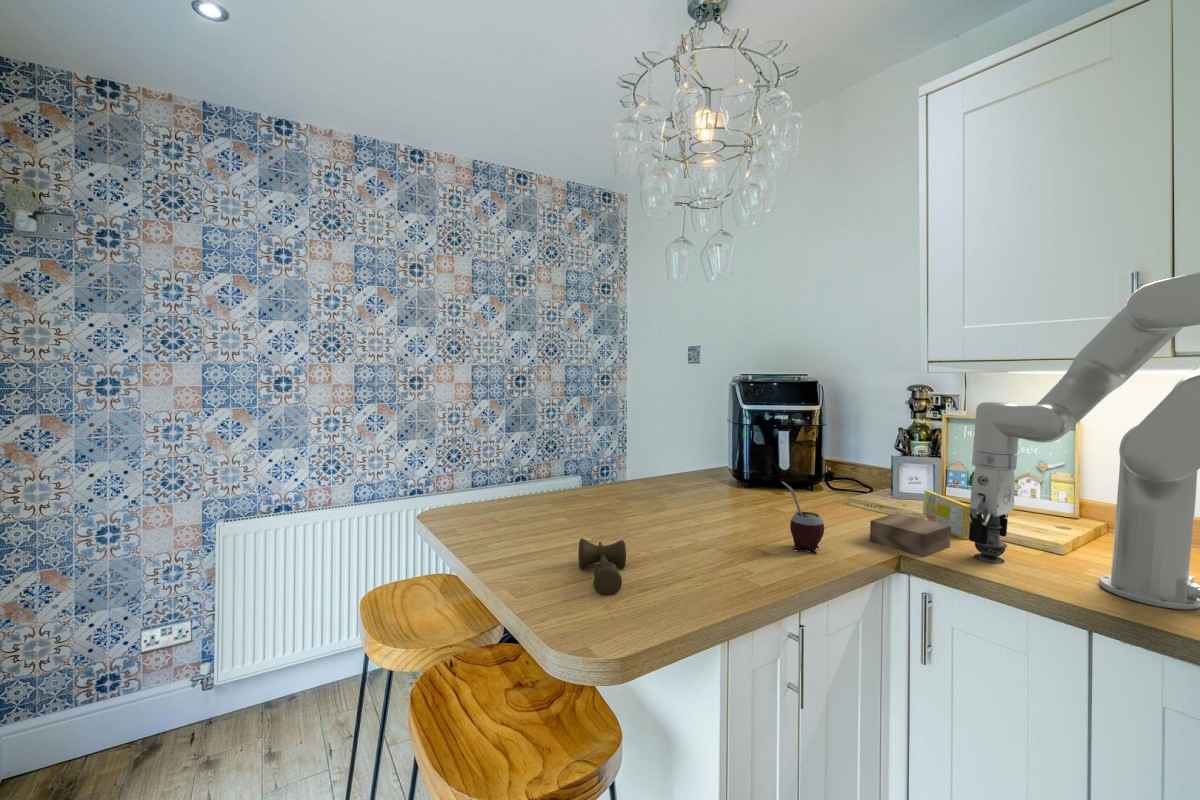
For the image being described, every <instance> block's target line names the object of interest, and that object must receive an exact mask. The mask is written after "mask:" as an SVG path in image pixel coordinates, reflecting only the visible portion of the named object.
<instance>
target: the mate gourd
mask: <svg viewBox="0 0 1200 800" xmlns="http://www.w3.org/2000/svg"><path fill="white" fill-rule="evenodd" d="M781 483H782V484H783V485H784V486H785V487H786V488H787V489H788V490H789V491H790V493H791V495H792V497H793V500H794V503H795V505H796V508H797V511H796V512H795V513H794V514H793V516H792V517H791V519H790V526H789V527H790V533H791V537H792V538H793V543H794V547H793V548H792V549H793V551H794V550H804V551H806V550H808V551H810V552H812V553H814V554H813V555H816V554H815V553H817V551H816V550H817V549H816V548H819V549H820V546H819V543H820V542H821V541H822V539H823V536H824V533H825V524H824V520H823V519H822V517H821V516H820V514H818V513H815V512H810V511H802V510H801V507H800V504H799V501H798V499H797V494H796V492H795V490H794V489H793V488H792V487H791V486H790V485H788V484H787V483H786V482H784V481H781ZM808 551H807V552H808ZM810 552H809V553H810ZM812 553H811V554H812ZM817 554H818V553H817Z"/></svg>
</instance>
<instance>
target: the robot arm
mask: <svg viewBox="0 0 1200 800" xmlns="http://www.w3.org/2000/svg"><path fill="white" fill-rule="evenodd" d="M1198 325H1200V271H1196V272H1192V273H1186V274H1183V275H1178V276H1174V277H1171V278H1170V277H1169V278H1166V279H1162V280H1158V281H1153V282H1151V283H1148V284H1145V285H1142V286H1141V287H1139V288H1138V289H1136V290H1135V291H1134V292H1133V293H1132V294H1130V296H1129V298H1128V299H1127V300H1126V303H1125V305H1124V307H1122V308H1121V309H1120V310H1119V312H1117V314H1115V315H1114V317H1112V319H1111V320H1110V321H1109V322H1108V323H1107V324H1106V325H1105V326H1104V327H1103V328H1102V329H1101V330H1100V331H1098V333H1096V335H1095V336H1094V337H1093V338H1092V339H1091V340H1090V341H1089V342H1088V343H1086V345H1085V346H1084V347H1083V348H1082V349H1080V351H1079V352H1078V353H1077V354H1076V356H1075V357H1074V359H1073V360H1072V363H1071V365H1070V366H1069V368H1068V370H1067V371H1066V372H1065V374H1064V375H1063V376H1062V377H1061V379H1060V380H1058V382H1057V383H1056V384H1055V385H1054V386H1053V387H1052V388H1051V389H1050V390H1049V391H1048V392H1047V393H1046V394H1045V395H1044V396H1043V397H1042V398H1041V399H1040V400H1039V401H1038V402H1037V403H1036V404H1035V405H1017V404H1016V403H1011V402H1010V403H1009V402H1002V401H1001V402H1000V401H998V402H996V401H985V402H980V403H979V404H977V406H976V408H975V410H976V411H975V421H974V422H975V423H974V433H973V444H972V457H971V458H972V459H971V465H972V466H974V467H975V468H974V472H973V476H972V483H971V492H970V502H969V504H970V505H969V506H970V514H969V516H970V529H969V539H968V540H969V541H970V542H973V543H975V542H976V543H980V544H984V545H985V544H987V542H988V530H989V526H987V523H988V520H989V518H990V515H991V514H993V516H994V517H998V516H1000V526H1001V527H1002V528H1000V533H999V537H1006V536H1007V534H1008V533H1007V532H1008V521H1009V520H1008V519H1009V513H1012V512H1013V510H1014V509H1015V508H1014V507H1015V483H1016V482H1015V471H1016V470H1017V464H1018V450H1019V439H1021V440H1025V441H1029V442H1035V443H1040V444H1041V443H1042V444H1043V443H1045V444H1046V443H1053V442H1055V441H1058V440H1060V439H1061V438H1063V437H1064V436H1065V435H1066V434H1068V433H1069V432H1070V431H1071V430H1072V429H1073V428H1074V427H1075V426H1076V425H1077V424H1079V422H1080V421H1081V420H1083V419H1084V418H1085V417H1086V416H1087V415H1088V414H1089V413H1090V412H1091V411H1092V410H1093V409H1094V408H1095V407H1096V406H1097V405H1099V403H1100V402H1102V401H1103V400H1104V399H1105V398H1106V397H1107V396H1108V395H1110V394H1111V393H1112V392H1114V391H1116V390H1117V389H1118V388H1119V387H1121V386H1123V384H1125V383H1126V382H1127V381H1128V380H1129V379H1130V378H1131V377H1132V376H1133V375H1135V373H1136V372H1137V371H1138V370H1140V369H1141V368H1142V367H1143V366H1144V365H1145V364H1146V363H1147V362H1148V361H1149V360H1150V359H1151V358H1152V357H1153V356H1155V354H1157V352H1158V351H1160V350H1161V349H1162V348H1163V347H1164V346H1165V345H1166V344H1167V343H1169V341H1171V340H1172V338H1174V337H1175V336H1176V335H1177V334H1178V333H1179V332H1180V331H1181V330H1182V329H1184V328H1187V327H1194V326H1198ZM1118 450H1119V471H1118V473H1119V474H1118V483H1117V494H1116V495H1117V497H1116V505H1115V508H1116V509H1115V521H1114V533H1113V534H1114V535H1113V544H1112V545H1113V549H1112V562H1111V574H1103V575H1100V577H1099V580H1098V581H1099V582H1098V583H1099V585H1100V586H1101V588H1103V589H1104V590H1107V591H1108V592H1109V593H1112V594H1114V595H1117V596H1119V597H1123V598H1124V599H1127V600H1132V601H1134V602H1137V603H1141V604H1146V605H1151V606H1154V607H1155V606H1156V607H1160V608H1167V609H1172V608H1173V610H1174V609H1175V610H1196V609H1199V608H1200V585H1199V583H1197V582H1195V575H1190V566H1191V565H1190V563H1191V554H1192V553H1191V551H1192V541H1193V530H1194V529H1193V528H1194V517H1195V511H1196V497H1197V485H1198V483H1197V481H1198V470H1200V364H1199V365H1198V366H1197V367H1196V368H1194V369H1193V371H1191V372H1190V373H1189V374H1188V375H1186V376H1185V377H1183V378H1182V379H1180V380H1179V381H1178V382H1176V384H1175V385H1174V386H1173V388H1172V389H1171V391H1170V392H1169V393H1168V394H1167V396H1165V397H1164V399H1162V400H1161V402H1160V403H1159V404H1157V406H1156V407H1154V409H1152V410H1151V412H1149V413H1148V414H1147V416H1145V417H1144V418H1143V419H1142V420H1141V422H1139V423H1138V424H1137V425H1135V426H1133V427H1132V428H1130V429H1129V430H1128V431H1127V432H1126V433H1125V434H1124V435H1123V436H1122V439H1121V440H1120V445H1119V449H1118ZM984 510H985V511H984ZM983 515H984V518H983Z"/></svg>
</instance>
